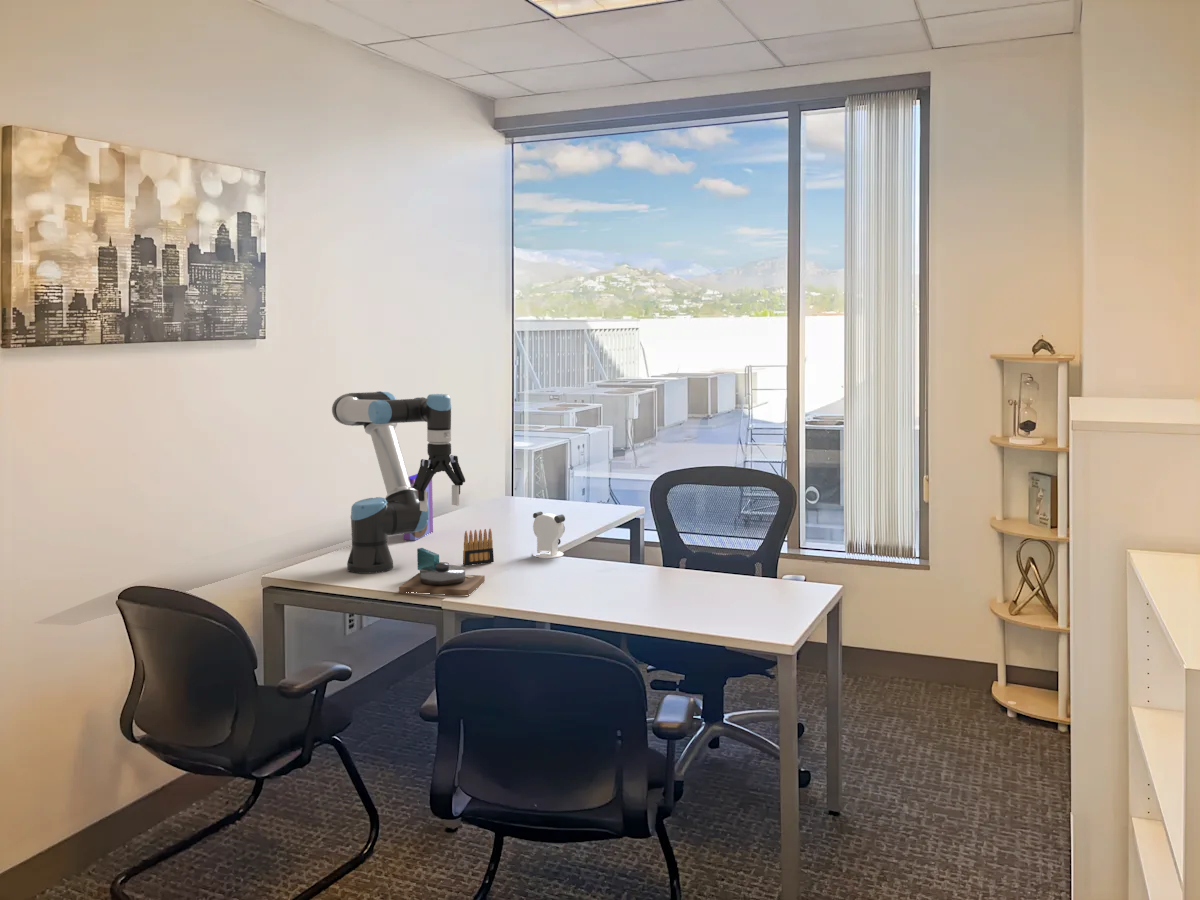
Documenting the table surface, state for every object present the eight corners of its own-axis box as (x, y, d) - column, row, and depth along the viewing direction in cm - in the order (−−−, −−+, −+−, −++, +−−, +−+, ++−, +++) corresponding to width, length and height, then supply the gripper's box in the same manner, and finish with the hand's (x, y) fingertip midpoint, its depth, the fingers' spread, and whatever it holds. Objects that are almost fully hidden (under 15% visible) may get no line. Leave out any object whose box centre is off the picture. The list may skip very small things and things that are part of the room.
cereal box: (415, 541, 382) (413, 478, 379) (403, 540, 383) (402, 478, 380) (433, 532, 399) (431, 472, 396) (421, 531, 400) (420, 472, 397)
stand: (399, 593, 307) (398, 586, 307) (418, 578, 325) (418, 572, 324) (468, 596, 303) (468, 589, 303) (484, 581, 321) (484, 574, 321)
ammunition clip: (464, 565, 343) (464, 531, 341) (462, 564, 344) (462, 530, 343) (493, 562, 348) (493, 528, 346) (492, 561, 349) (491, 527, 348)
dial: (473, 580, 312) (473, 558, 311) (432, 587, 304) (432, 564, 303) (439, 566, 331) (439, 545, 330) (400, 572, 323) (399, 550, 322)
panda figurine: (571, 554, 361) (571, 512, 359) (553, 560, 351) (552, 517, 350) (544, 550, 367) (543, 509, 365) (525, 555, 358) (525, 514, 356)
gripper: (416, 447, 309) (417, 515, 312) (475, 440, 328) (476, 503, 331) (401, 445, 313) (401, 511, 316) (460, 438, 333) (460, 501, 336)
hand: (439, 507), depth 324 cm, fingers open, 13 cm apart
